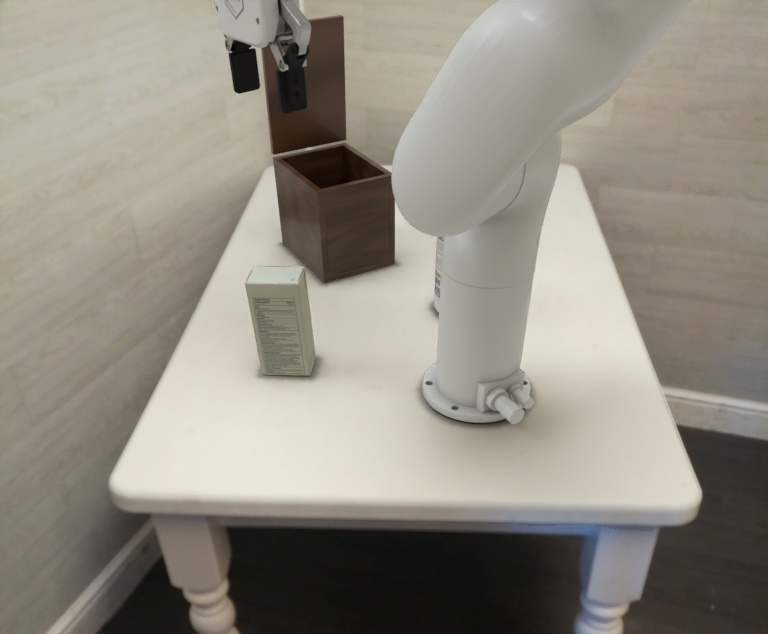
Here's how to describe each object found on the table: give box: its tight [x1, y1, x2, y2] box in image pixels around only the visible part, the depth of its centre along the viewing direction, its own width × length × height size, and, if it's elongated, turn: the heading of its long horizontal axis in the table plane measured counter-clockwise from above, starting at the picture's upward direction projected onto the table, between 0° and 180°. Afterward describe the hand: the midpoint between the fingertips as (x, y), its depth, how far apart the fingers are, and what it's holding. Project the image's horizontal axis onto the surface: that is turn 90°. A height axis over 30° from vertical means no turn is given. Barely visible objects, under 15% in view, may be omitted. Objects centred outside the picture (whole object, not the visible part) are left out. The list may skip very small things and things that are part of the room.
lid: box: [260, 14, 347, 156], centre depth 101 cm, size 16×12×5 cm
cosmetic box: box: [244, 265, 317, 377], centre depth 85 cm, size 6×4×12 cm
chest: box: [272, 142, 396, 284], centre depth 106 cm, size 15×12×13 cm
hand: (269, 100), depth 80 cm, fingers open, 9 cm apart
